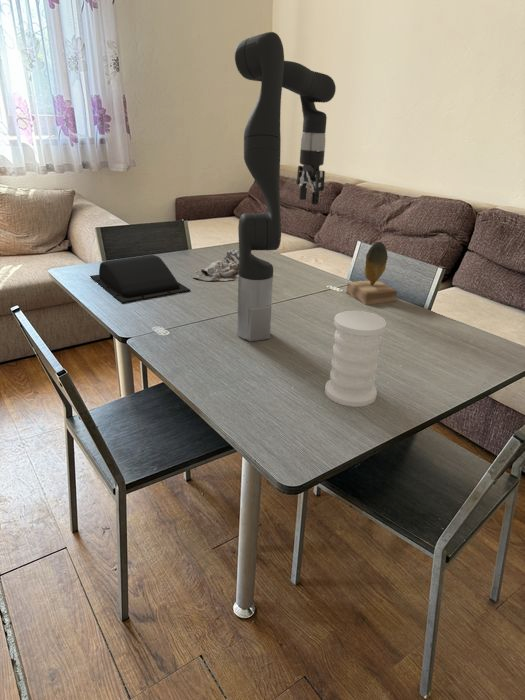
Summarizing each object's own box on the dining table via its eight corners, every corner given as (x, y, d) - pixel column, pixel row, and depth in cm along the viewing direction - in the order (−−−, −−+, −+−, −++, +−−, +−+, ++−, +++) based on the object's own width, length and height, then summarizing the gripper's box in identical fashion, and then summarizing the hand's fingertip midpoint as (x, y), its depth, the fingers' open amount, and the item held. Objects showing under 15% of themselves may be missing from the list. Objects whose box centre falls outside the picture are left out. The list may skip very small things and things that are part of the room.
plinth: (395, 301, 173) (397, 289, 171) (365, 304, 168) (366, 293, 167) (375, 289, 183) (376, 278, 181) (346, 292, 178) (347, 281, 177)
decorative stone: (373, 280, 179) (380, 238, 172) (387, 285, 175) (394, 242, 168) (355, 285, 173) (361, 241, 166) (369, 290, 169) (376, 245, 162)
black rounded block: (90, 279, 182) (122, 305, 160) (87, 255, 178) (120, 279, 157) (152, 269, 195) (190, 293, 173) (151, 247, 191) (189, 268, 170)
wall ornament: (275, 251, 193) (208, 253, 175) (274, 278, 196) (208, 282, 178) (245, 247, 208) (180, 248, 190) (245, 272, 210) (181, 276, 192)
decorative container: (374, 410, 110) (386, 334, 102) (320, 401, 112) (329, 326, 105) (377, 385, 120) (389, 314, 112) (329, 377, 123) (337, 307, 115)
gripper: (291, 146, 163) (288, 198, 170) (312, 150, 152) (308, 206, 159) (312, 146, 166) (308, 197, 173) (334, 150, 154) (329, 205, 161)
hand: (308, 201), depth 166 cm, fingers open, 8 cm apart
